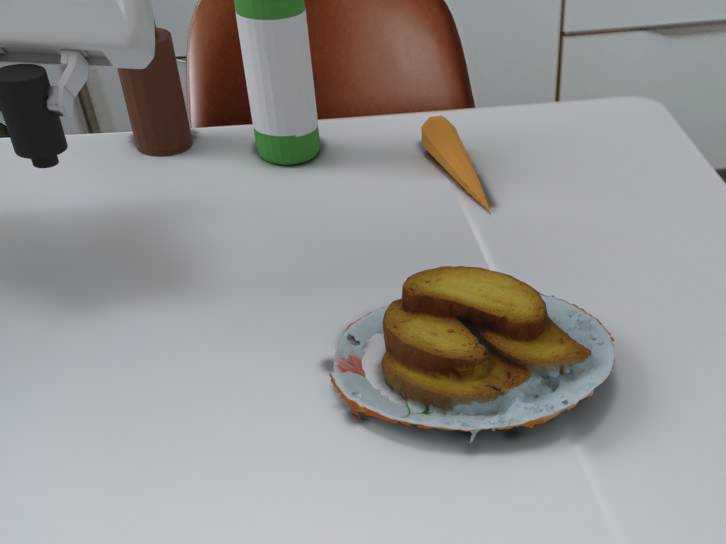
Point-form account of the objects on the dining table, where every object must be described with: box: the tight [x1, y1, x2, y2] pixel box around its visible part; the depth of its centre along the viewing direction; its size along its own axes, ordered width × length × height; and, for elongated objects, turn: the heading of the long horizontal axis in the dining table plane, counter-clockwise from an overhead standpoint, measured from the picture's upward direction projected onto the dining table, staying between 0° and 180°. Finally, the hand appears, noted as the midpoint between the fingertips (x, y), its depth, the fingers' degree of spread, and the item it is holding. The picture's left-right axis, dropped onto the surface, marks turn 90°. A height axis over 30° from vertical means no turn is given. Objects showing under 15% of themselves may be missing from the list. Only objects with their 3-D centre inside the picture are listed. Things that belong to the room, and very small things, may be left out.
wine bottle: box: [233, 0, 321, 166], centre depth 107 cm, size 8×8×30 cm
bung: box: [0, 64, 69, 169], centre depth 82 cm, size 4×4×7 cm
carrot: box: [420, 115, 492, 213], centre depth 113 cm, size 20×4×4 cm, turn 20°
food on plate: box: [328, 265, 616, 444], centre depth 84 cm, size 25×25×7 cm
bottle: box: [116, 18, 193, 157], centre depth 114 cm, size 7×7×16 cm
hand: (26, 112), depth 81 cm, fingers closed on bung, 4 cm apart
